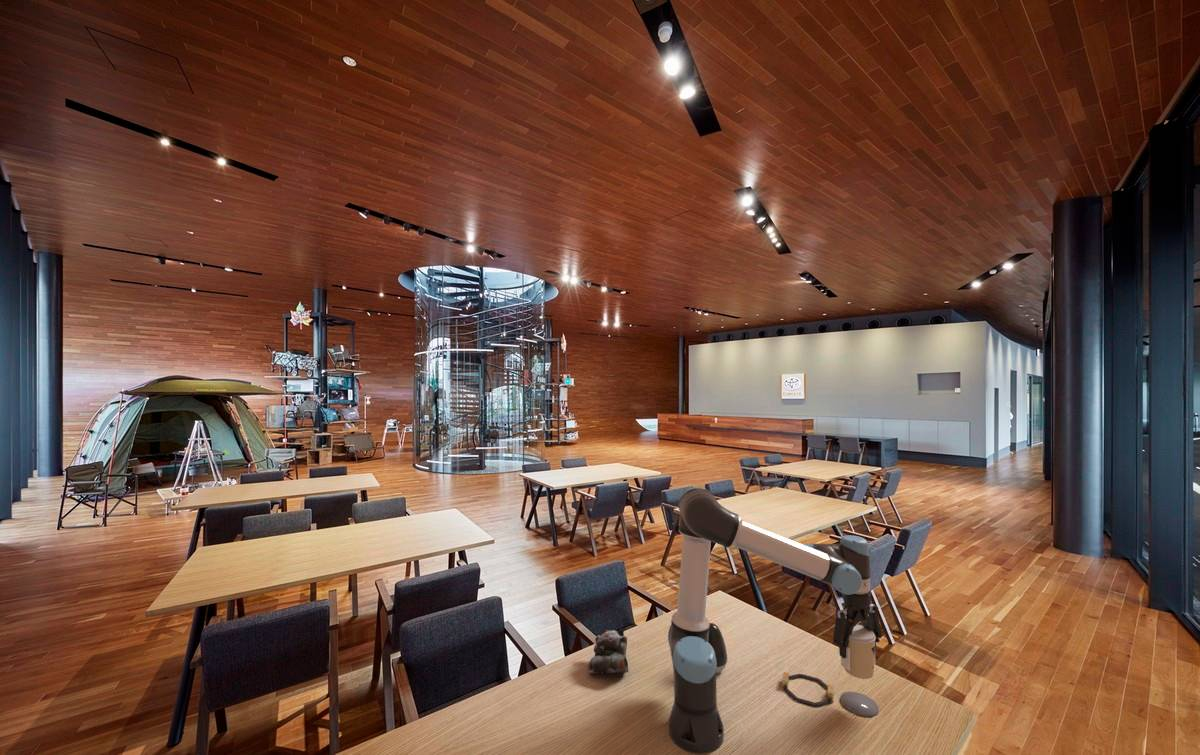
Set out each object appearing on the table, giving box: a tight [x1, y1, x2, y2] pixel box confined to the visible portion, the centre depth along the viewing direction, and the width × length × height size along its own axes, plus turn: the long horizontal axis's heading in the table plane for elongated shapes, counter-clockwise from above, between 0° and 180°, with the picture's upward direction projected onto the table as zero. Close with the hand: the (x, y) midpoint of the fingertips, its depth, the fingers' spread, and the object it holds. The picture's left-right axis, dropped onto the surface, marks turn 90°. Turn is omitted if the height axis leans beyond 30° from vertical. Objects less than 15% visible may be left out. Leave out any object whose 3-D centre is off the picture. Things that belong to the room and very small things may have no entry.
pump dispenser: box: [708, 622, 728, 674], centre depth 156 cm, size 10×10×15 cm
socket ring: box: [781, 671, 835, 708], centre depth 144 cm, size 14×14×2 cm
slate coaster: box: [839, 691, 880, 718], centre depth 137 cm, size 10×10×1 cm
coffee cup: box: [843, 624, 876, 680], centre depth 138 cm, size 9×9×12 cm
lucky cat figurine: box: [587, 628, 629, 675], centre depth 157 cm, size 15×12×14 cm
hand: (858, 664), depth 138 cm, fingers closed on coffee cup, 9 cm apart
